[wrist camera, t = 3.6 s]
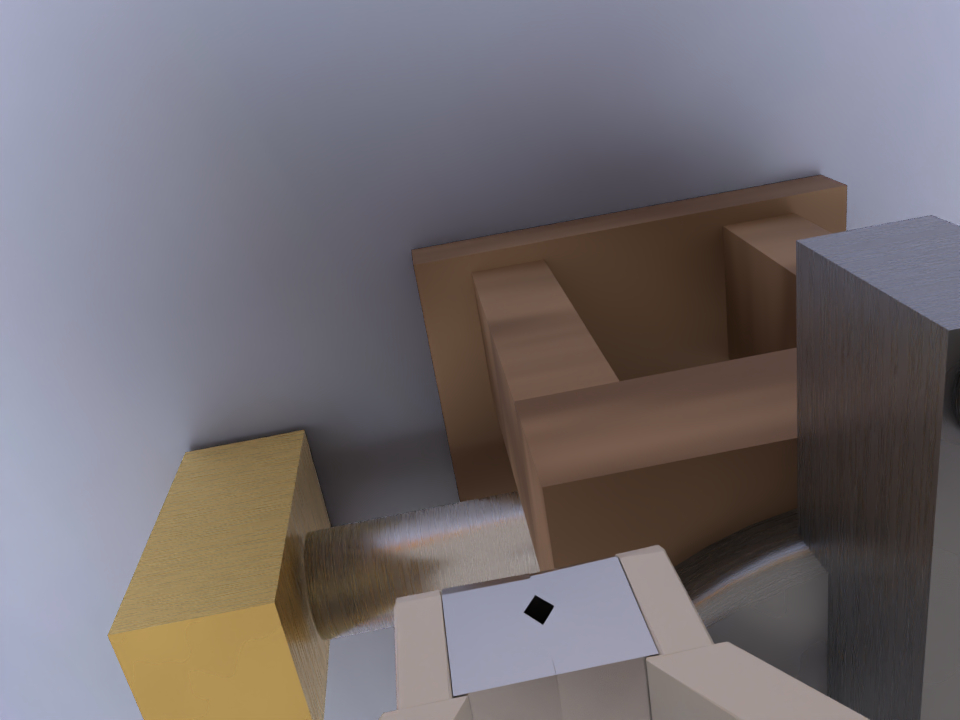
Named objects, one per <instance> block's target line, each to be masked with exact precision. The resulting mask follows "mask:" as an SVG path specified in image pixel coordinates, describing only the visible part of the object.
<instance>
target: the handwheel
mask: <svg viewBox="0 0 960 720" xmlns="http://www.w3.org/2000/svg"><path fill="white" fill-rule="evenodd" d="M796 327H797V505H798V508H797V509H793V510H790V511H788V512H785V513H782V514H780V515H777V516H774V517H771V518H769V519H766V520H763V521H761V522H758V523H755V524H752V525H750V526H748V527H746V528H743V529H741V530H739V531H737V532H735V533H733V534H731V535H729V536H727V537H725V538H723V539H721V540H719V541H717V542H715V543H713V544H711V545H709V546H707V547H705V548H704V549H702V550H701V551H699V552H697V553H696V554H694V555H693V556H691V557H689V558H688V559H686V560H685V561H683V562H681V563H680V564H678V565H677V566H675V567H674V568H675V570H676V572H677V574H678V576H679V578H680V580H681V582H682V583H683V585H684V587H685V589H686V591H687V593H688V595H689V597H690V599H691V600H692V602H693V604H694V606H695V608H696V610H697V612H698V614H699V616H700V618H701V619H702V621H703V623H704V625H705V627H706V629H707V631H708V633H709V635H710V637H711V638H712V640H713V642H714V644H717V643H722V642H730V643H732V644H734V645H736V646H737V647H739V648H741V649H743V650H745V651H746V652H748V653H750V654H752V655H754V656H755V657H757V658H759V659H761V660H763V661H765V662H766V663H768V664H770V665H772V666H774V667H775V668H777V669H779V670H781V671H783V672H784V673H786V674H788V675H790V676H792V677H794V678H795V679H797V680H799V681H801V682H803V683H804V684H806V685H808V686H810V687H812V688H814V689H815V690H817V691H819V692H821V693H823V694H824V695H826V696H828V697H830V698H832V699H833V700H835V701H837V702H839V703H841V704H843V705H844V706H846V707H848V708H850V709H852V710H853V711H855V712H857V713H859V714H861V715H862V716H864V717H866V718H868V719H870V720H960V226H958V225H955V224H953V223H950V222H948V221H945V220H943V219H940V218H938V217H935V216H933V215H930V216H924V217H919V218H914V219H908V220H903V221H898V222H892V223H887V224H881V225H876V226H871V227H865V228H860V229H855V230H849V231H844V232H838V233H833V234H828V235H822V236H817V237H812V238H806V239H801V240H796Z"/></svg>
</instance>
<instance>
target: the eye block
mask: <svg viewBox="0 0 960 720" xmlns="http://www.w3.org/2000/svg"><path fill="white" fill-rule="evenodd" d="M846 213H847V185H845V184H842V183H840V182H838V181H835V180H833V179H830V178H828V177H825V176H823V175H817V176H811V177H806V178H801V179H795V180H790V181H784V182H779V183H773V184H768V185H762V186H757V187H751V188H746V189H741V190H735V191H730V192H724V193H719V194H713V195H708V196H702V197H697V198H691V199H686V200H681V201H675V202H670V203H664V204H659V205H653V206H648V207H642V208H637V209H631V210H626V211H621V212H615V213H610V214H604V215H599V216H593V217H588V218H582V219H577V220H571V221H566V222H561V223H555V224H550V225H544V226H539V227H533V228H528V229H522V230H517V231H512V232H506V233H501V234H495V235H490V236H484V237H479V238H473V239H468V240H462V241H457V242H452V243H446V244H441V245H435V246H430V247H424V248H419V249H413V250H412V258H413V266H414V271H415V276H416V281H417V286H418V291H419V296H420V301H421V306H422V312H423V317H424V322H425V327H426V332H427V337H428V342H429V347H430V352H431V357H432V362H433V367H434V372H435V377H436V382H437V387H438V393H439V398H440V403H441V408H442V413H443V418H444V423H445V428H446V433H447V438H448V443H449V448H450V453H451V458H452V463H453V469H454V474H455V479H456V484H457V489H458V494H459V499H460V502H464V501H469V500H474V499H479V498H484V497H489V496H494V495H500V494H505V493H510V492H515V491H518V493H519V497H520V500H521V504H522V507H523V511H524V514H525V518H526V522H527V525H528V529H529V532H530V536H531V540H532V543H533V547H534V550H535V554H536V558H537V561H538V565H539V568H540V571H545V570H550V569H554V568H559V567H564V566H569V565H574V564H578V563H583V562H588V561H593V560H598V559H603V558H607V557H612V556H615V555H616V554H619V553H624V552H628V551H633V550H637V549H641V548H646V547H650V546H654V545H659V546H661V547H662V548H664V549H665V551H666V553H667V555H668V557H669V559H670V561H671V563H672V564H673V566H674V567H675V566H677V565H678V564H680V563H681V562H683V561H685V560H686V559H688V558H689V557H691V556H693V555H694V554H696V553H697V552H699V551H701V550H702V549H704V548H705V547H707V546H709V545H711V544H713V543H715V542H717V541H719V540H721V539H723V538H725V537H727V536H729V535H731V534H733V533H735V532H737V531H739V530H741V529H743V528H746V527H748V526H750V525H752V524H755V523H758V522H761V521H763V520H766V519H769V518H771V517H774V516H777V515H780V514H782V513H785V512H788V511H790V510H793V509H797V508H798V505H797V327H796V240H801V239H806V238H812V237H817V236H822V235H828V234H833V233H838V232H844V231H846Z"/></svg>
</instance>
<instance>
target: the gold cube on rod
mask: <svg viewBox="0 0 960 720" xmlns="http://www.w3.org/2000/svg"><path fill="white" fill-rule="evenodd" d="M535 572H540V568H539V565H538V561H537V558H536V554H535V550H534V547H533V543H532V540H531V536H530V532H529V529H528V525H527V522H526V518H525V514H524V511H523V507H522V504H521V500H520V497H519V493H518V491H515V492H510V493H505V494H500V495H494V496H489V497H484V498H479V499H474V500H469V501H464V502H458V503H453V504H448V505H443V506H438V507H433V508H428V509H422V510H417V511H412V512H407V513H402V514H397V515H392V516H387V517H381V518H376V519H371V520H366V521H361V522H356V523H351V524H345V525H340V526H335V527H331V525H330V521H329V517H328V514H327V510H326V507H325V503H324V499H323V496H322V492H321V488H320V485H319V481H318V477H317V474H316V470H315V466H314V463H313V459H312V456H311V452H310V448H309V445H308V441H307V437H306V434H305V430H300V431H295V432H290V433H284V434H279V435H274V436H269V437H263V438H258V439H253V440H247V441H242V442H237V443H232V444H226V445H221V446H216V447H211V448H205V449H200V450H195V451H190V452H185V455H184V457H183V460H182V462H181V464H180V467H179V469H178V471H177V474H176V476H175V478H174V481H173V483H172V485H171V488H170V490H169V492H168V495H167V497H166V500H165V502H164V504H163V507H162V509H161V511H160V514H159V516H158V518H157V521H156V523H155V525H154V528H153V530H152V532H151V535H150V537H149V540H148V542H147V544H146V547H145V549H144V551H143V554H142V556H141V558H140V561H139V563H138V565H137V568H136V570H135V572H134V575H133V577H132V580H131V582H130V584H129V587H128V589H127V591H126V594H125V596H124V598H123V601H122V603H121V605H120V608H119V610H118V612H117V615H116V617H115V620H114V622H113V624H112V627H111V629H110V631H109V634H108V637H109V640H110V642H111V644H112V647H113V649H114V651H115V654H116V656H117V658H118V661H119V663H120V665H121V668H122V670H123V672H124V675H125V677H126V679H127V682H128V684H129V686H130V689H131V691H132V693H133V696H134V698H135V700H136V703H137V705H138V707H139V709H140V712H141V714H142V716H143V719H144V720H324V709H325V696H326V683H327V670H328V658H329V645H330V639H334V638H339V637H344V636H349V635H354V634H359V633H364V632H370V631H375V630H380V629H385V628H390V627H394V605H395V602H396V598H399V597H404V596H410V595H415V594H420V593H425V592H431V591H436V590H439V591H441V592H442V589H444V588H450V587H456V586H461V585H467V584H472V583H478V582H483V581H489V580H495V579H500V578H506V577H511V576H517V575H522V574H528V573H529V574H530V573H535Z"/></svg>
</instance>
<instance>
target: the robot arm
mask: <svg viewBox="0 0 960 720" xmlns="http://www.w3.org/2000/svg"><path fill="white" fill-rule="evenodd" d="M394 629H395V663H396V696H397V710H395V711H390V712H386V713H383V714H382V715H381V717H380V718H379V720H870V719H868V718H866V717H864V716H862V715H861V714H859V713H857V712H855V711H853V710H852V709H850V708H848V707H846V706H844V705H843V704H841V703H839V702H837V701H835V700H833V699H832V698H830V697H828V696H826V695H824V694H823V693H821V692H819V691H817V690H815V689H814V688H812V687H810V686H808V685H806V684H804V683H803V682H801V681H799V680H797V679H795V678H794V677H792V676H790V675H788V674H786V673H784V672H783V671H781V670H779V669H777V668H775V667H774V666H772V665H770V664H768V663H766V662H765V661H763V660H761V659H759V658H757V657H755V656H754V655H752V654H750V653H748V652H746V651H745V650H743V649H741V648H739V647H737V646H736V645H734V644H732V643H730V642H722V643H717V644H714V642H713V640H712V638H711V637H710V635H709V633H708V631H707V629H706V627H705V625H704V623H703V621H702V619H701V618H700V616H699V614H698V612H697V610H696V608H695V606H694V604H693V602H692V600H691V599H690V597H689V595H688V593H687V591H686V589H685V587H684V585H683V583H682V582H681V580H680V578H679V576H678V574H677V572H676V570H675V568H674V566H673V564H672V563H671V561H670V559H669V557H668V555H667V553H666V551H665V549H664V548H662V547H661V546H659V545H654V546H650V547H646V548H641V549H637V550H633V551H628V552H624V553H619V554H616V555H615V556H612V557H607V558H603V559H598V560H593V561H588V562H583V563H578V564H574V565H569V566H564V567H559V568H554V569H550V570H545V571H540V572H535V573H530V574H529V573H528V574H522V575H517V576H511V577H506V578H500V579H495V580H489V581H483V582H478V583H472V584H467V585H461V586H456V587H450V588H444V589H442V592H441V591H439V590H436V591H431V592H425V593H420V594H415V595H410V596H404V597H399V598H396V602H395V605H394Z"/></svg>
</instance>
